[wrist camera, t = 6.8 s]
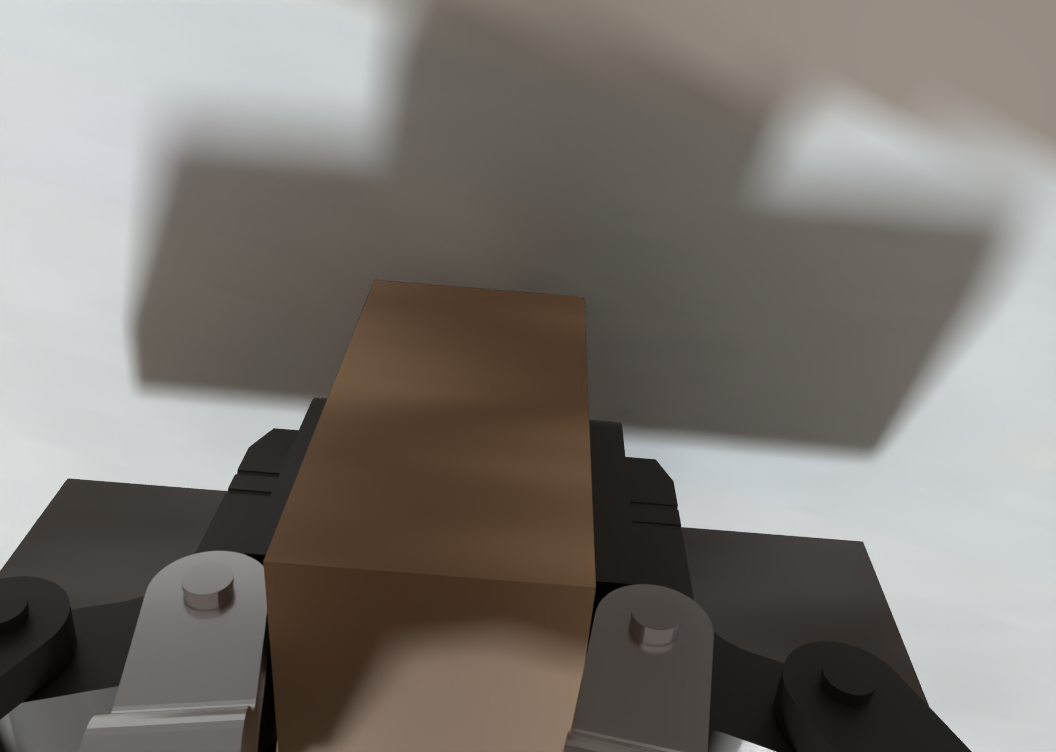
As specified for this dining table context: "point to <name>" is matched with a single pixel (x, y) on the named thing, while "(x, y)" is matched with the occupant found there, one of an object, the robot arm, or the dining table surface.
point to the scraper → (450, 541)
